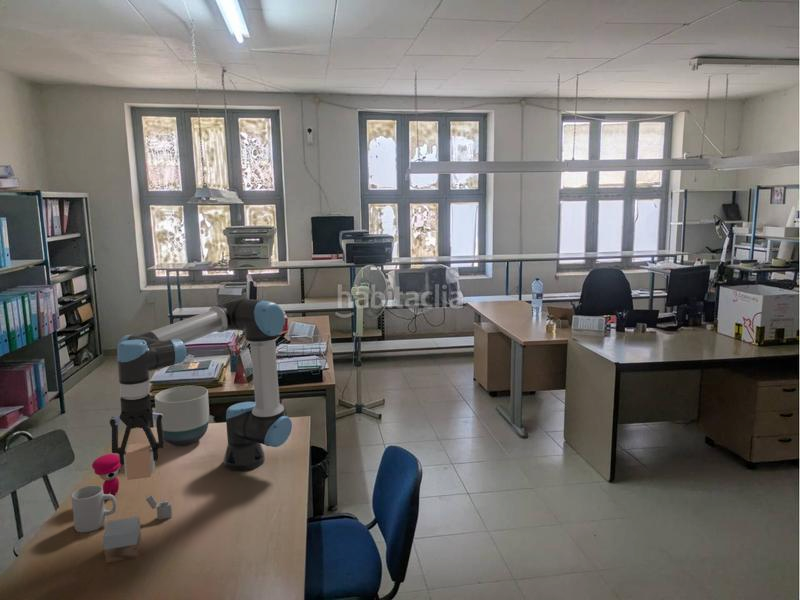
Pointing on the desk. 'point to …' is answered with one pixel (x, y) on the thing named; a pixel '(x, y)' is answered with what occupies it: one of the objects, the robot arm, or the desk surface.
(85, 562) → the desk surface
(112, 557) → the tower base
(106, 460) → the toy
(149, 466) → the clay block
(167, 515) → the lighter
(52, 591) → the desk surface
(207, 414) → the planter
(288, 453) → the desk surface
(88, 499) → the mug
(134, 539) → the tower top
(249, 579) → the desk surface
